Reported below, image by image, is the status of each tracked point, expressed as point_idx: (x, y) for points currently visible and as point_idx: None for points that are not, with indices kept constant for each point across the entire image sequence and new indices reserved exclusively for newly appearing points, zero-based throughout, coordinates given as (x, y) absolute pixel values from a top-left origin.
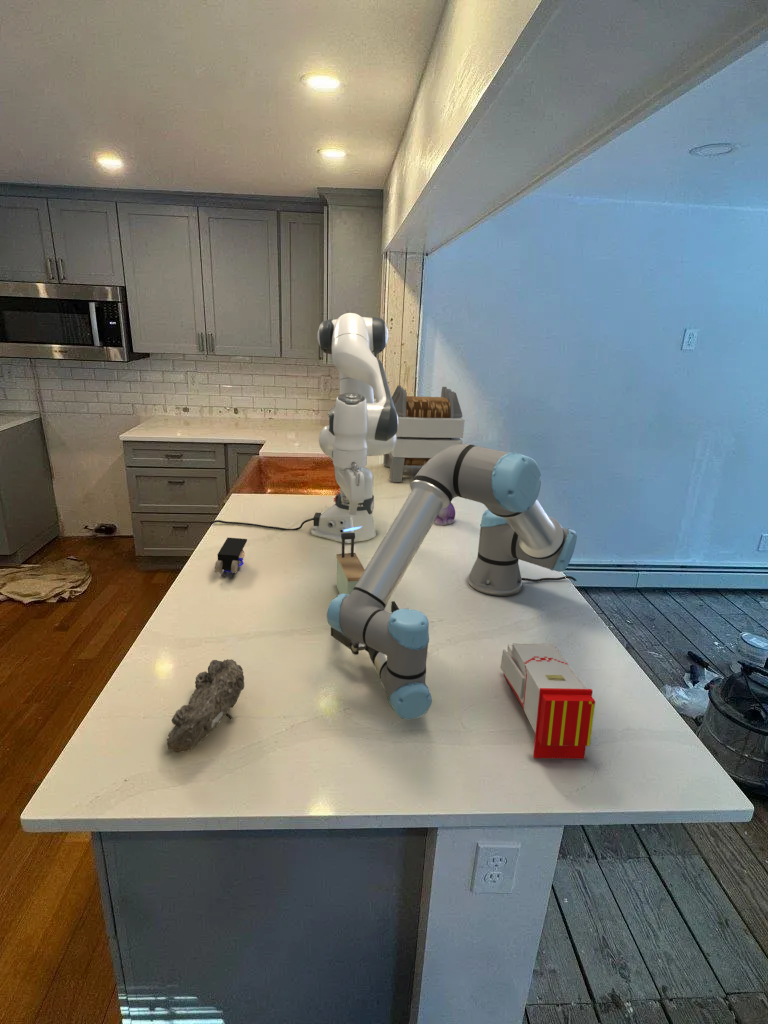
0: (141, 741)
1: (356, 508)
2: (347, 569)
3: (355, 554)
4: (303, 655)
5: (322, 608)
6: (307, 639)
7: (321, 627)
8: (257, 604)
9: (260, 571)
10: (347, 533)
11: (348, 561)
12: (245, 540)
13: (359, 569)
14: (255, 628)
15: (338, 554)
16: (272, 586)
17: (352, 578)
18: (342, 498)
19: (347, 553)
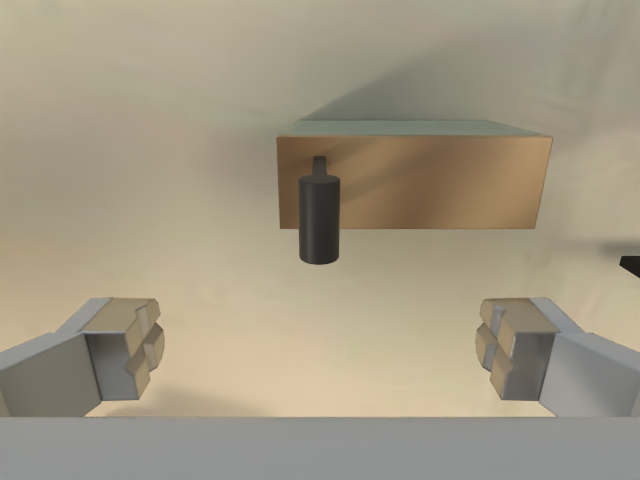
0: None
1: (598, 340)
2: (453, 213)
3: (300, 141)
4: (636, 330)
5: (431, 254)
6: (573, 313)
7: (532, 273)
8: (362, 400)
9: (166, 383)
10: (323, 230)
11: (372, 192)
12: None
13: (470, 161)
14: (476, 410)
15: (288, 220)
16: (267, 362)
17: (537, 209)
18: (140, 389)
19: (282, 177)
